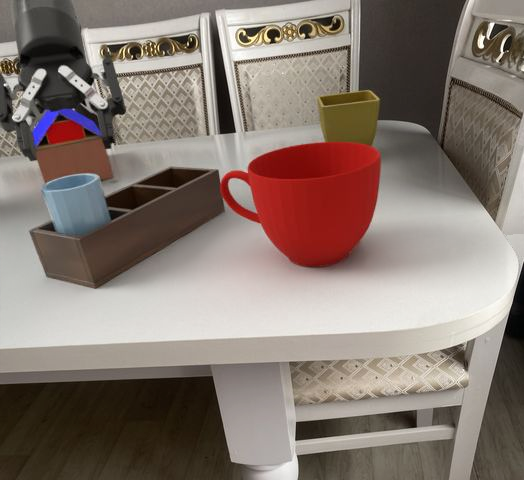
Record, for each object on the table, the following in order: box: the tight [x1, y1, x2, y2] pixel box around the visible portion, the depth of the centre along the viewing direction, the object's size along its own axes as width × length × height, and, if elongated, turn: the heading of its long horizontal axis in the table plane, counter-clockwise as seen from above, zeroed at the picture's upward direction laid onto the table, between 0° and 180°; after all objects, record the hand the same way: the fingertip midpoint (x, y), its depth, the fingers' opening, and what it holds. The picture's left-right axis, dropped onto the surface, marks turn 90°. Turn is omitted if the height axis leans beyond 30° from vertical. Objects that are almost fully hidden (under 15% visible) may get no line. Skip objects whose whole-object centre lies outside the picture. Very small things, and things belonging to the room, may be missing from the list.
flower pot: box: [316, 89, 381, 147], centre depth 84 cm, size 9×9×9 cm
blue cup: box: [40, 173, 112, 236], centre depth 58 cm, size 6×6×9 cm
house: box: [32, 109, 114, 184], centre depth 96 cm, size 12×20×12 cm, turn 21°
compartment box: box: [28, 165, 226, 289], centre depth 64 cm, size 8×24×6 cm, turn 147°
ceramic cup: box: [220, 141, 382, 268], centre depth 55 cm, size 13×17×10 cm
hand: (69, 151), depth 60 cm, fingers open, 8 cm apart
